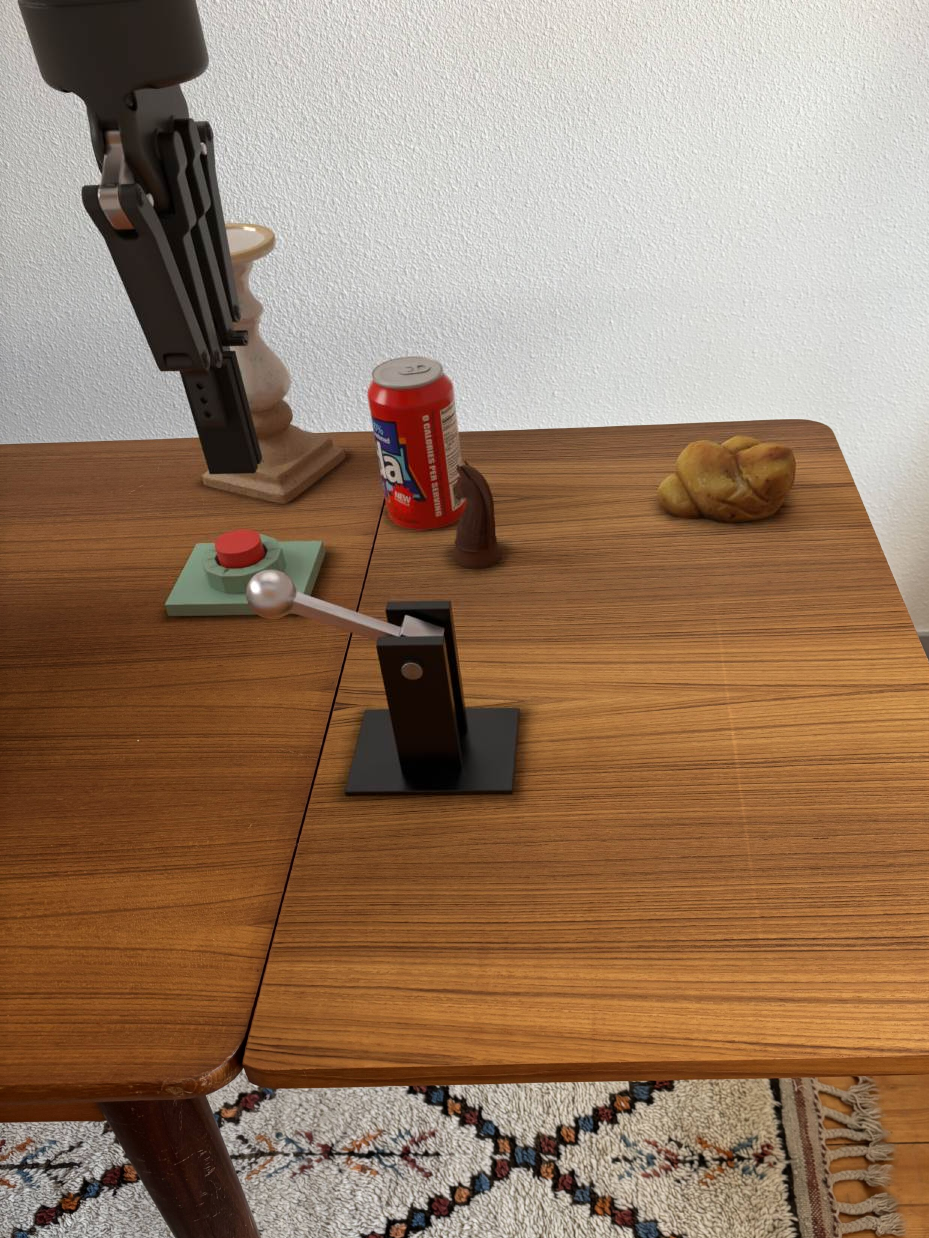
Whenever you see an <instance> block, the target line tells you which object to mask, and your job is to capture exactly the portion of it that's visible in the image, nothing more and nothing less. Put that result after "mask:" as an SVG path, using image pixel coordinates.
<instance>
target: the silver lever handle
mask: <svg viewBox="0 0 929 1238" xmlns="http://www.w3.org/2000/svg"><path fill="white" fill-rule="evenodd" d="M246 598H247V601H248V604H249V606H250V607H251V609H252V610H253V611H254V612H255V613H256V614H258V616H260V617H262V618H264V619H268V620H278V619H281V618H283V617H286V616H287V615H289V614H288V613H289V612H292V613H295V614H294V615H297V616H301V617H303V618H306V619H310V620H313V621H315V622H318V623H321V624H325V625H328V626H330V627H333V628H337V629H340V630H341V631H342V630H343V631H345V632H349V633H352V634H355V635H358V636H360V637H363V638H366V639H370V640H372V641H376V642H377V640H378V637H406V636H443V634H444V628H442V627H440V626H437V625H434V624H431V623H428V622H425V621H422V620H419V619H416V618H413V617H411V616H408V615H405V617H404V619H403V622H402V625H401V627H399V626H396V625H393V624H390V623H388V622H387V621H385V620H381V619H378V618H375V617H372V616H369V615H366V614H363V613H361V612H358V611H356V610H355V611H354V610H351V609H349V608H346V607H342V606H341V605H337V604H334V603H331V602H328V601H326V600H322V599H320V598H317V597H313V596H308V595H305V594H302V593H299V592H296V587H295V585H294V583H293V581H292V580H291V579H290V578H289V577H288V576H287V575H286V574H284V573H283V572H280V571H277V570H264V571H261V572H259V573H257V574H256V575H254V576H253V577H252V578H251V580H250V581H249V583H248V585H247V589H246Z"/></svg>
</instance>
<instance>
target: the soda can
mask: <svg viewBox="0 0 929 1238" xmlns="http://www.w3.org/2000/svg"><path fill="white" fill-rule="evenodd" d="M444 371H445V370H444V365H443V363H441V362H440V361H438V359H437V360H436V359H434V358H432V357H427V356H419V355H417V356H416V355H415V356H414V355H413V356H411V355H410V356H409V355H408V356H402V357H401V356H400V357H396V358H392V359H389V360H386V361H383V362H381V363H380V364H378V365H376V366H375V367H374V368H373V369H372V372H371V379H372V380H371V382H370V383H369V386H368V388H367V392H366V394H367V395H366V396H367V401H368V402H367V403H368V407H369V413H370V420H371V425H372V431H373V437H374V443H375V447H376V453H377V454H376V455H377V458H378V465H379V471H380V476H381V477H380V478H381V481H382V488H383V494H384V500H385V505H386V510H387V514H388V517H389V519H390V521H392V522H393V523H394V524H395V525H397V526H399V527H402V528H405V529H408V530H415V531H425V530H427V531H428V530H435V529H439V528H443V527H446V526H449V525H451V524H453V523H456V522H457V521H459V520H460V518H461V515H462V513H463V511H464V509H465V507H466V505H467V504H468V501H467V498H461V499H459V500H457V498H456V497H455V496H456V495H457V494H456V495H454V493H453V488H454V487H455V485H456V483H457V481H458V480H457V479H458V478H459V477H461V476H460V475H459V473H458V471H457V470H456V468H457V466H456V465H459V466H462V465H463V459H462V449H461V442H460V434H459V433H460V432H459V425H458V416H457V407H456V398H455V391H454V384H453V381H452V379H451V378H450V377H449V376H448V375H447V374H446V373H445V372H444Z"/></svg>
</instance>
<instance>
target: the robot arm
mask: <svg viewBox="0 0 929 1238" xmlns="http://www.w3.org/2000/svg"><path fill="white" fill-rule="evenodd" d="M197 4H198V3H197V1H196V0H17V5H18V8H19V11H20V15H21V17H22V19H23V23H24V27H25V30H26V33H27V36H28V39H29V42H30V45H31V48H32V51H33V54H34V57H35V60H36V63H37V67H38V70H39V73H40V76H41V78H42V80H43V81H44V82H45V84H46V85H47V86H48V87H50V88H52V89H53V90H55V91H57V92H60V93H64V94H70V93H72V94H74V95H76V96H77V97H78V98H80V99H81V100H82V101H83V102H84V105H85V107H86V115H87V121H88V127H89V134H90V135H89V137H90V142H91V147H92V150H93V151H92V152H93V154H94V157H95V162H96V164H97V168H98V171H99V172H100V175H101V178H100V184H85V185H83V186H81V191H80V193H81V195H80V196H81V203H82V205H83V208H84V210H85V212H86V213H87V215H88V216H89V218H90V219H91V221H92V222H93V224H94V226H95V227H96V229H97V230H98V232H99V233H100V235H101V236H102V238H103V240H104V242H105V244H106V247H107V249H108V251H109V254H110V256H111V259H112V261H113V264H114V266H115V269H116V271H117V273H118V276H119V278H120V280H121V283H122V285H123V288H124V290H125V292H126V294H127V298H128V300H129V302H130V304H131V307H132V309H133V311H134V314H135V316H136V319H137V321H138V323H139V326H140V328H141V330H142V331H141V332H142V333H143V335H144V337H145V341H146V342H147V345H148V347H149V349H150V352H151V355H152V357H153V360H154V361H155V364H156V367H157V368H158V370H159V371H160V372H163V373H164V372H179V375H180V378H181V381H182V385H183V389H184V392H185V396H186V399H187V403H188V405H189V409H190V412H191V415H192V419H193V423H194V426H195V429H196V433H197V437H198V439H199V443H200V445H201V449H202V452H203V456H204V460H205V463H206V466H207V471H208V470H209V473H210V474H243V473H255V472H256V470H257V468H258V465H257V464H260V462H261V460H262V454H261V450H260V446H259V442H258V438H257V435H256V431H255V427H254V423H253V419H252V415H251V411H250V407H249V403H248V399H247V395H246V391H245V388H244V384H243V380H242V376H241V372H240V368H239V364H238V360H237V356H236V352H235V351H231V350H230V346H247V345H248V343H249V334H248V330H234V326H233V322H239V321H240V319H241V309H240V306H239V301H238V295H237V289H236V284H235V278H234V272H233V267H232V261H231V255H230V250H229V244H228V238H227V232H226V227H225V224H226V222H225V221H226V220H225V216H224V210H223V204H222V198H221V194H220V188H219V182H218V176H217V167H216V155H215V139H214V138H215V136H214V131H213V129H212V126H211V124H210V122H209V121H207V120H197V121H195V119H193V117H190V110H189V106H188V101H187V99H186V97H185V95H184V92H183V90H182V88H181V85H182V84H185V83H187V82H191V81H193V80H195V79H197V78H199V77H201V76H202V75H203V74H204V73H205V72H206V71H207V69H208V67H209V63H210V57H209V52H208V48H207V44H206V38H205V34H204V30H203V26H202V21H201V17H200V13H199V9H198V8H199V7H198V5H197Z"/></svg>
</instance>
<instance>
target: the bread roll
mask: <svg viewBox="0 0 929 1238" xmlns="http://www.w3.org/2000/svg"><path fill="white" fill-rule="evenodd" d="M796 468H797V461H796V458H795V454H794V451H793V449H792V448H791V447H790V446H788V445H785V444H782V443H773V442H763V441H761V440H759V439H756V438H753V437H750V436H745V435H743V434H739V435H735V436H733V437H731V438H730V439H727V440H726V441H724V442H722V443H721V444H719V443H717V442H714V441H712V440H709V439H705V440H703V439H701V440H697V441H693V442H690V443H689V444H688V445H687V446H686V447H685V448H684V449H683V450H682V451H681V453H680V454H679V455H678V457H677V459H676V464H675V470H676V471H675V472H674V473H671V474H670V475H669V476H667V477H665V478H664V479H663V480H662V481H661V483H660V484H659V486H658V488H657V491H656V497H657V501H658V504H659V506H660V508H661V509H662V510H663V511H664V512H665V513H667V514H669V515H672V516H675V517H678V518H682V519H699V518H707V519H711V520H713V521H717V522H720V523H746V522H755V521H761V520H764V519H767V518H769V517H771V516H773V515H774V514H775V513H776V512H778V510H779V509H780V508H781V507H782V506H783V502H784V501H785V500H786V496H787V495H788V494H789V492H790V491H791V489H792V487H793V486H794V483H795V480H796V472H797V471H796V470H797V469H796Z"/></svg>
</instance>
